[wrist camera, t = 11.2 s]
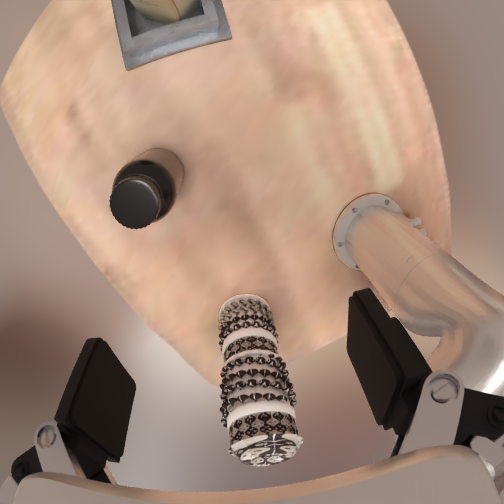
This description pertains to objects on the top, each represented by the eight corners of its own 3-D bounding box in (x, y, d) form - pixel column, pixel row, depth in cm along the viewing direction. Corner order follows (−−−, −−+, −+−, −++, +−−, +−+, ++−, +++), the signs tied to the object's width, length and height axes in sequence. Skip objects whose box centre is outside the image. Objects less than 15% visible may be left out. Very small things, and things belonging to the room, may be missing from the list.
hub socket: (209, -36, 20) (208, -55, 15) (231, 39, 26) (233, 26, 21) (112, -5, 20) (97, -19, 15) (128, 70, 26) (113, 64, 21)
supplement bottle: (129, 194, 34) (95, 231, 23) (138, 143, 31) (102, 159, 20) (178, 204, 35) (163, 246, 25) (190, 154, 32) (177, 174, 22)
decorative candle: (204, 314, 44) (205, 462, 22) (247, 281, 42) (277, 438, 20) (241, 341, 48) (260, 474, 26) (283, 313, 46) (325, 451, 24)
